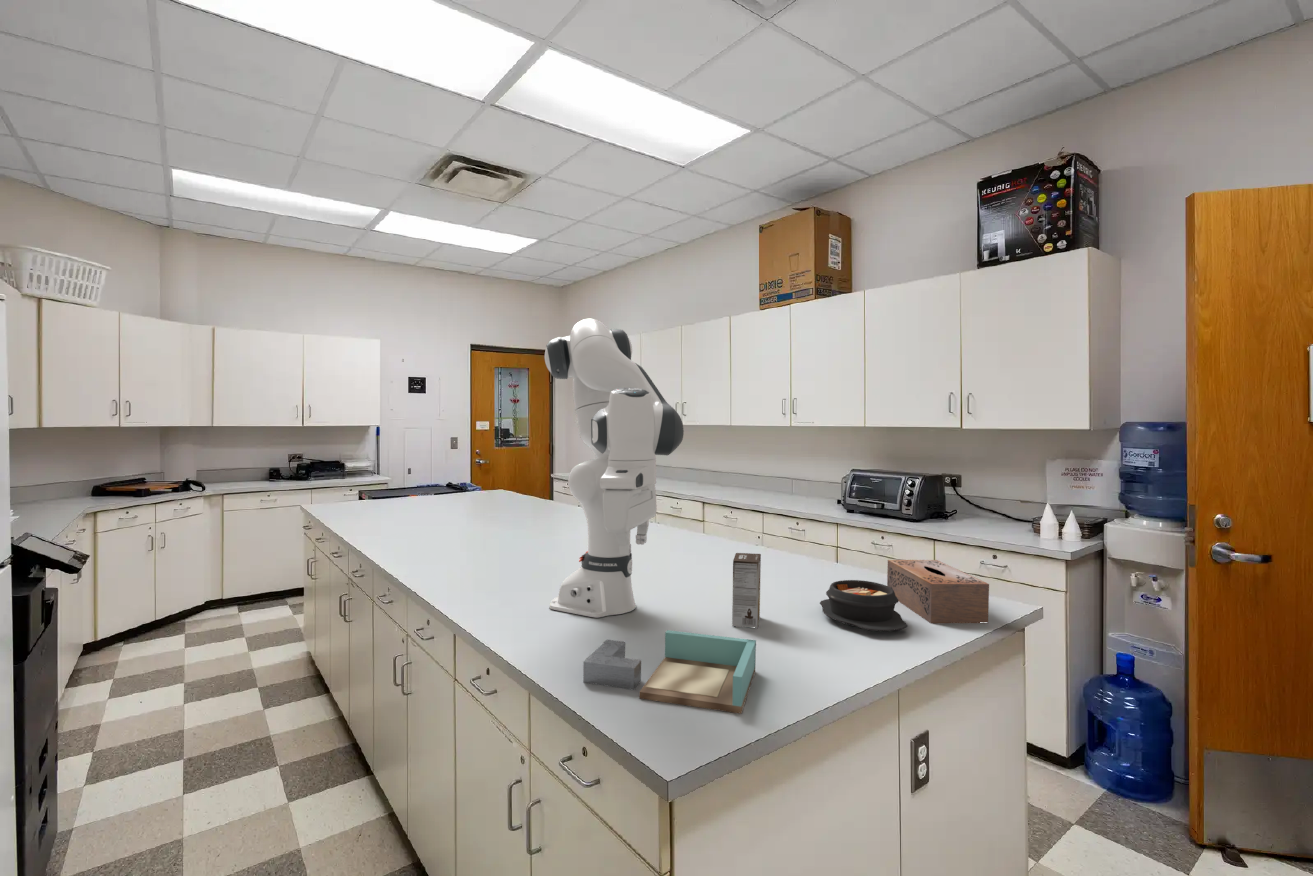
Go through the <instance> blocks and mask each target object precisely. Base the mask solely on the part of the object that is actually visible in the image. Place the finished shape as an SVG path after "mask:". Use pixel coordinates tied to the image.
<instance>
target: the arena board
mask: <svg viewBox="0 0 1313 876" xmlns="http://www.w3.org/2000/svg"><path fill="white" fill-rule="evenodd" d="M736 667H737V666H731V665H723V664H716V663H708V662H700V661H692V660H684V659H676V658H669V657H665V656H664V657H663V659H662V661H661V662H660V663H659V665H658V666H657V667H656V669H655V670H654V672H652V674H651V675H650V677H649V678H648V679H647V681H645V683H644V685H643V686H642V688H641V689H640V690H639V693H638V694H639V696H638V697H639V700H640V699H641V700H647V701H648V700H649V701H653V702H654V701H655V702H661V703H666V704H674V705H681V706H687V707H694V708H701V709H705V710H706V709H707V710H714V711H722V712H727V713H734V714H739V715H740V714H743V710H744V706H745V703H746V701H747V697H748V695H749V691H750V688H751V686H752V683H753V680H754V678H755V677H754V676H755V675H756V674H755V673H756V667H755V668H754V671H753V674H752V677H751V680H750V683H749V686H748V689H747V692H746V695H745V697H744V700H743V703H742V706H741V707H740V706H733V705H732V703H733V675H734V672H735V670H736Z"/></svg>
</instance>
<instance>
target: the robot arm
mask: <svg viewBox="0 0 1313 876" xmlns="http://www.w3.org/2000/svg"><path fill="white" fill-rule="evenodd" d="M545 347H546V348H545V352H544V362H545V366H546V368H547V370H548V371H549V373H550V374H551V377H553V378H554V379H559V380H568V379H569V378H570V379H571V378H572V393H573V394H572V395H573V404H574V411H575V412H574V413H575V415H576V422H577V426H578V427H577V428H578V433H579V438H580V440H581V441H582V443H583V444H585V445H586V446H587V447H588V448H589V449H590V450H591V451H592V453H593V454H594V457H595V458H594V459H589V460H585V461H583V462H581V463H578V464H576V465H574V466H573V467H572V468H571V470H570V472H569V475H568V483H567V484H568V488H569V492H570V494H571V495H572V496H573V498H575V500H577V501H578V503H579V504H580V506H581V508H582V510H583V512H584V515H585V519H586V524H587V525H586V526H587V551H585V553H583V554H582V555H581V556H580V557H578V559H579V560H578V562H579V563H581V567H579V568H578V569H576V570H575V571H573V572H571V574H570V575H568V576H566V578H564V580H563V581H562V582H561V583H560V585H559V586H560V587H559V590H558V595H557V596H555V597H554V598H553V599H551V600H550V603H549V609H550V610H555V611H558V612H564V613H570V614H574V615H575V614H576V615H579V616H584V617H591V618H598V619H599V618H603V617H606V616H615V615H621V614H626V613H629V612H631V611H633V610H634V609H635V610H636V608H637V604H636V602H635V596H634V590H633V586H632V585H633V584H632V574H633V554H632V544H631V530H633V529H635V528H636V534H635V544H637V545H641V546H642V545H645V544H646V543H647V541H648V540H647V539H648V530H649V525H650V522H649V521H650V520H651V519H653V518H656V516H657V510H658V509H657V506H658V505H657V493H656V483H657V464H656V461H657V460H656V459H657V458H656V456H670V455H671V454H672V453H673V452H675V451H676V449H678V448H679V446H680V445H681V444H682V442H683V439H684V432H685V431H684V424H683V421H682V417H681V416H680V415H679V413H678V412H677V410H676V409H675V408H674V407H673V406H672V405H670V404H669V403H668V402H667V400H666V399H665V398H664V396H663V395H662V394H661V392H660V390H659V389H658V387H657V386H656V385H655V383H654V382H653V379H651V378H650V376H649V375H648V373H647V372H646V370H645V369H644V368H643V367H642V366H641V365H639V364H637V363H636V362H634V361H633V360H632V356H633V346H632V342H631V340H630V337H629V335H628V333H626V331H625V330H623V329H620V328H610V329H609V328H608V327H607V325H605V324H604V323H603V322H602V321H600V320H599V319H597V318H596V319H595V318H584V319H582V320H580V321H578V322H577V323H575V324H574V325H573V327H572V329H571V331H570V334H569V335H566V336H563V337H562V336H558V337H554V338H553V339H550V340H549V341H548V343H547V344H546V346H545Z"/></svg>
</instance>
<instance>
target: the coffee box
mask: <svg viewBox="0 0 1313 876" xmlns="http://www.w3.org/2000/svg"><path fill="white" fill-rule="evenodd" d="M761 556H762V554H761V553H752V552H751V553H749V552H736V553H735V554H734V558H733V559H732V605H731V606H732V608H731V609H732V612H731V614H732V615H731V616H732V617H731V618H732V619H731V620H732V621H731V622H732V623H731V625H732V627H733V626H736V627H735V628H745V627H755V628H754V629H758V628H759V624H760V618H761V615H760V613H761V612H760V611H761V610H760V609H761V569H762V567H761V566H762V564H761V563H762V562H761V559H762V558H761Z"/></svg>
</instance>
